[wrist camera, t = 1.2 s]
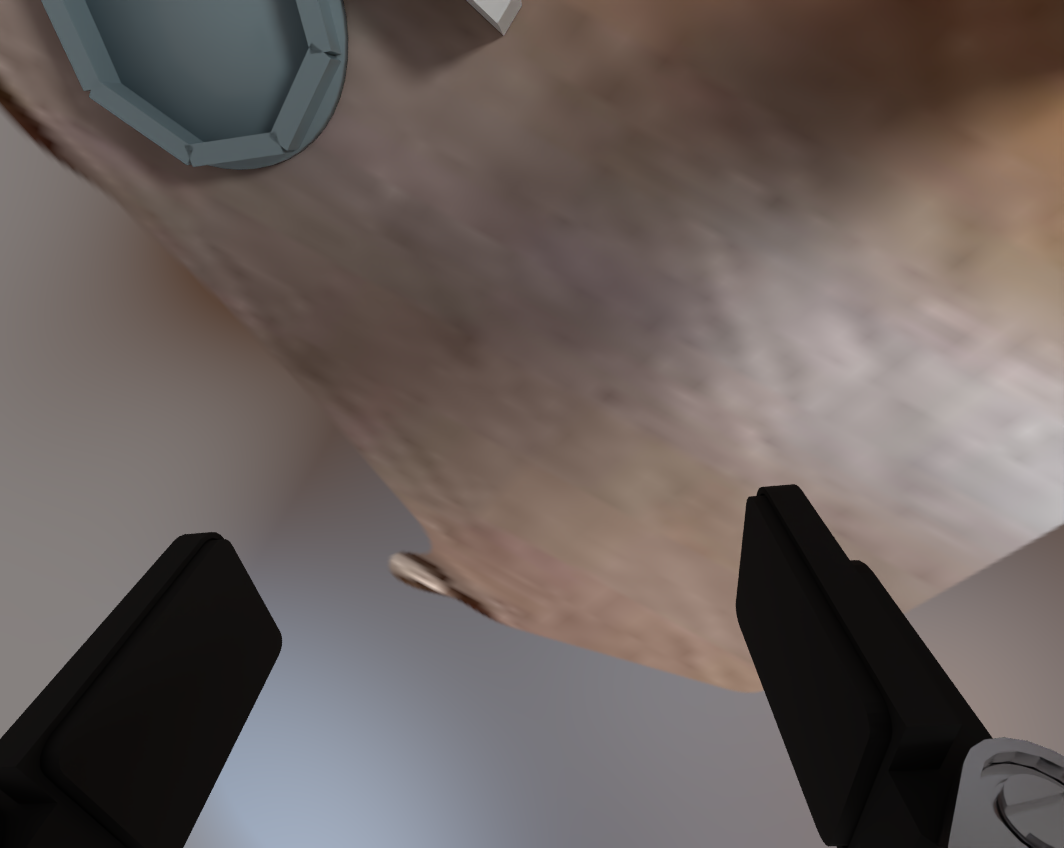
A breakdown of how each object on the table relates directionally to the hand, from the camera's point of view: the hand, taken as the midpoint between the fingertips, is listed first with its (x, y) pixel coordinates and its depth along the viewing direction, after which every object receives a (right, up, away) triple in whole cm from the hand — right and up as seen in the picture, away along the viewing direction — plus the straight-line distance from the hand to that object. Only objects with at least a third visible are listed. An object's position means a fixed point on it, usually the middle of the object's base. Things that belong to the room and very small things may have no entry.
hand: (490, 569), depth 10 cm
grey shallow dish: (-15, +23, +16) cm, 32 cm away
